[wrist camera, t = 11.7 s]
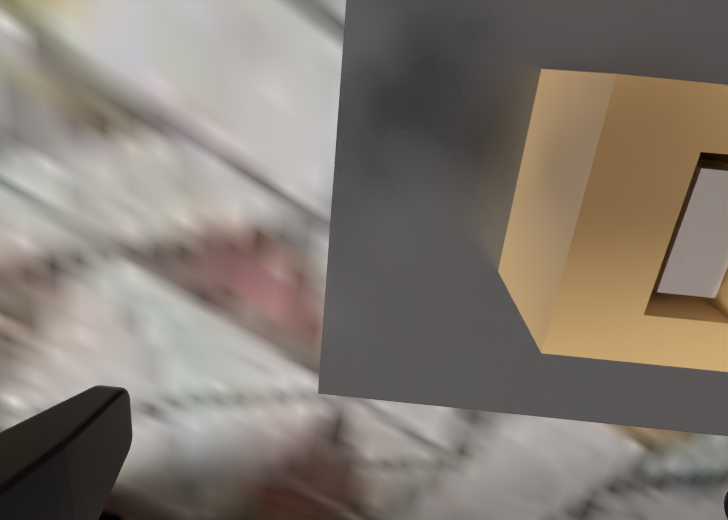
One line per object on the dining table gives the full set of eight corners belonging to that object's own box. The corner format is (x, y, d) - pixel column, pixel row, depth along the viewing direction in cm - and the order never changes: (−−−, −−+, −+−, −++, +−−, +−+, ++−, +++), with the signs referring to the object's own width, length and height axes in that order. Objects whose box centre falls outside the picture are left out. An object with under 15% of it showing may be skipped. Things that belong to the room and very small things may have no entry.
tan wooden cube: (541, 68, 14) (628, 74, 9) (762, 90, 14) (974, 109, 9) (497, 271, 17) (547, 365, 12) (687, 289, 17) (819, 392, 12)
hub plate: (767, 424, 20) (900, 551, 15) (321, 377, 20) (298, 488, 15) (1047, -122, 13) (1482, -239, 8) (363, -191, 13) (348, -354, 8)
